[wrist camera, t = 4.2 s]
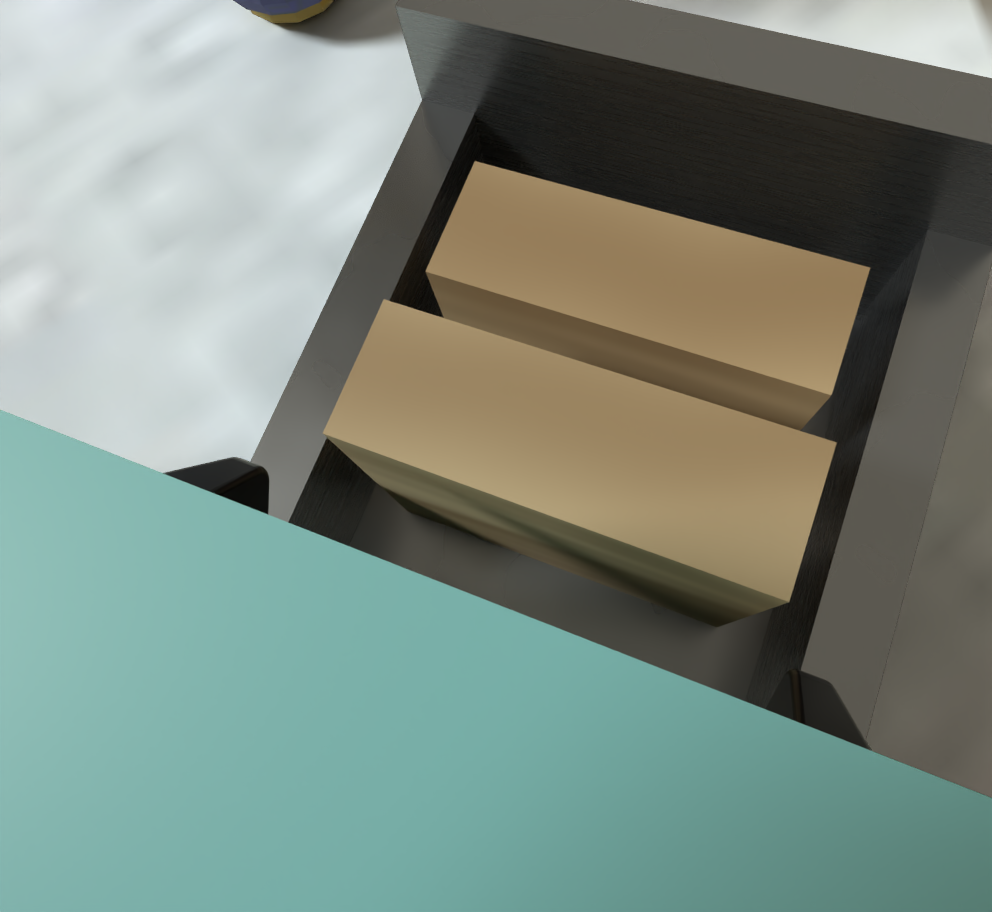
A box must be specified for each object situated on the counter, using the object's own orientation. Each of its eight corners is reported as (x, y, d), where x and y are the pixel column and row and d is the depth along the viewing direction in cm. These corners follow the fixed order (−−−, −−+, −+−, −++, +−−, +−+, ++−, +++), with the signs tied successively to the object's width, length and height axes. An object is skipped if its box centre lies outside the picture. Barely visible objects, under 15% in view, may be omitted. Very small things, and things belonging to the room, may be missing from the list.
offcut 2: (717, 627, 14) (789, 601, 9) (408, 511, 15) (322, 434, 10) (750, 521, 14) (837, 442, 9) (447, 417, 15) (383, 299, 10)
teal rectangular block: (653, 826, 13) (972, 1538, 2) (333, 687, 14) (-435, 729, 3) (691, 708, 13) (1105, 844, 3) (377, 583, 14) (-188, 336, 4)
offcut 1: (764, 470, 14) (831, 395, 10) (465, 371, 15) (425, 271, 12) (795, 374, 15) (870, 268, 11) (501, 285, 16) (475, 161, 12)
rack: (702, 1035, 13) (808, 1360, 7) (204, 795, 15) (-59, 879, 9) (907, 322, 16) (1108, 103, 10) (469, 199, 18) (408, -47, 12)
